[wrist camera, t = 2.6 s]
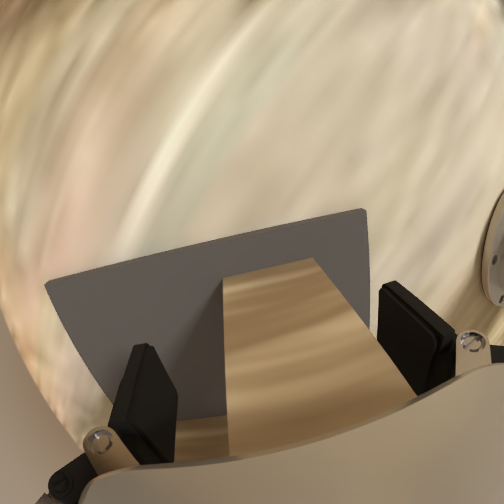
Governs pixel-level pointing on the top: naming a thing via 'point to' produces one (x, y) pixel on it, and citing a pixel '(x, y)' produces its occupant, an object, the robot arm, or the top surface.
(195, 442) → the domino
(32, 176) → the top surface
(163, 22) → the top surface
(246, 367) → the end domino
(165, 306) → the mat
